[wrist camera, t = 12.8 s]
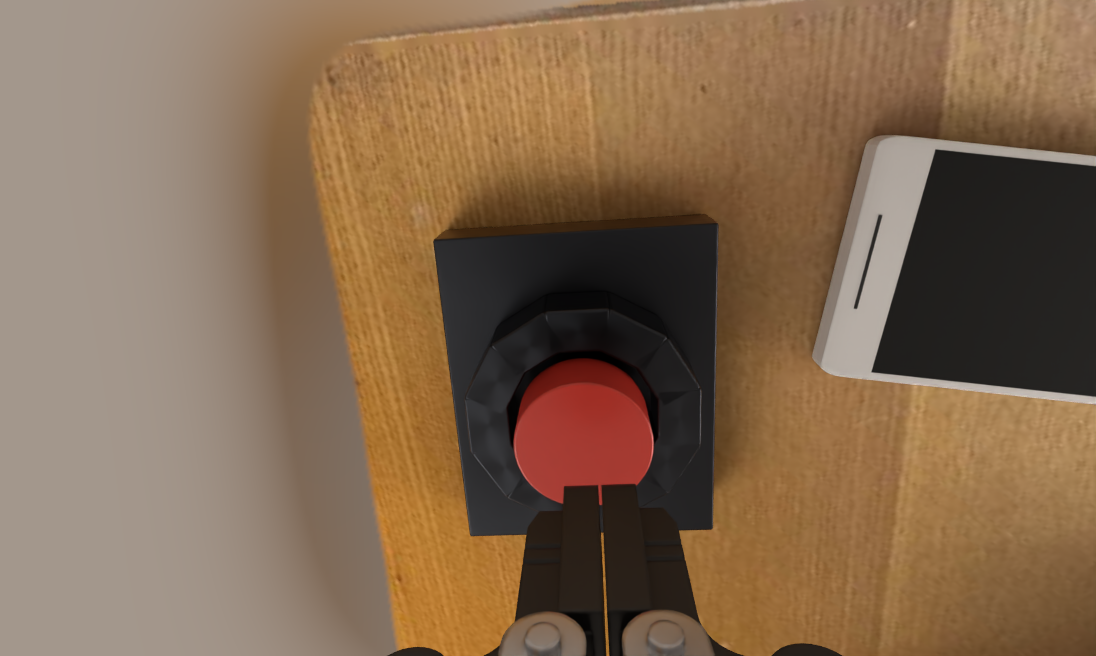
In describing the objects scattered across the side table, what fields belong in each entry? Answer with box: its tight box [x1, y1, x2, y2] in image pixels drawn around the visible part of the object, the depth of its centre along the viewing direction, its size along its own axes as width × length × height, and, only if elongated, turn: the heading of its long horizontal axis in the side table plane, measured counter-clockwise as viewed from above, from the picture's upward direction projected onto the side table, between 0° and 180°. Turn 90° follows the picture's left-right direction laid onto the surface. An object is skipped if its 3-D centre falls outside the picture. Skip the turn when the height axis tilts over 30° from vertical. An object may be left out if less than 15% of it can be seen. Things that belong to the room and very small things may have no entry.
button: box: [514, 358, 654, 505], centre depth 17 cm, size 4×4×2 cm
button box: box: [433, 214, 719, 536], centre depth 19 cm, size 10×8×4 cm
